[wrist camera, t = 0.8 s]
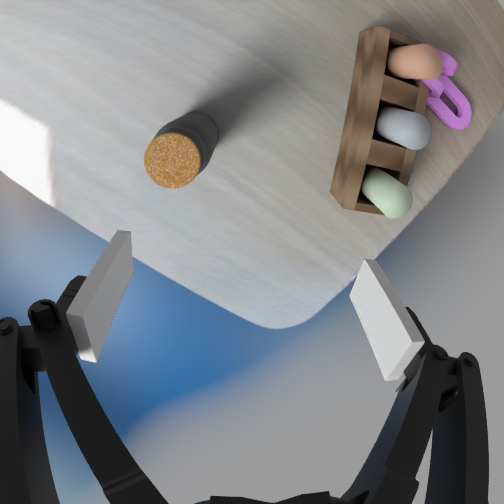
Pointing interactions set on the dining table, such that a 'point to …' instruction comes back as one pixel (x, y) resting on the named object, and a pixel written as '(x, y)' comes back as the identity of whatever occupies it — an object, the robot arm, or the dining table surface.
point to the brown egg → (414, 62)
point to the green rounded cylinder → (386, 193)
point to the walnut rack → (374, 119)
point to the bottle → (181, 150)
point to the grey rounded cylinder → (403, 127)
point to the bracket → (452, 93)
